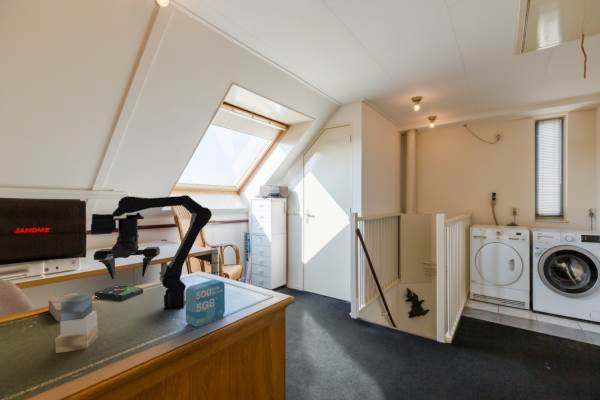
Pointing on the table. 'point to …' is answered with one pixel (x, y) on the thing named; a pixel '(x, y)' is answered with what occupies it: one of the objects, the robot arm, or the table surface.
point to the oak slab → (76, 341)
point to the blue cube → (76, 307)
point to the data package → (205, 302)
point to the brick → (58, 305)
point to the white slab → (78, 325)
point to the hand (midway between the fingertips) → (128, 278)
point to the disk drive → (119, 292)
